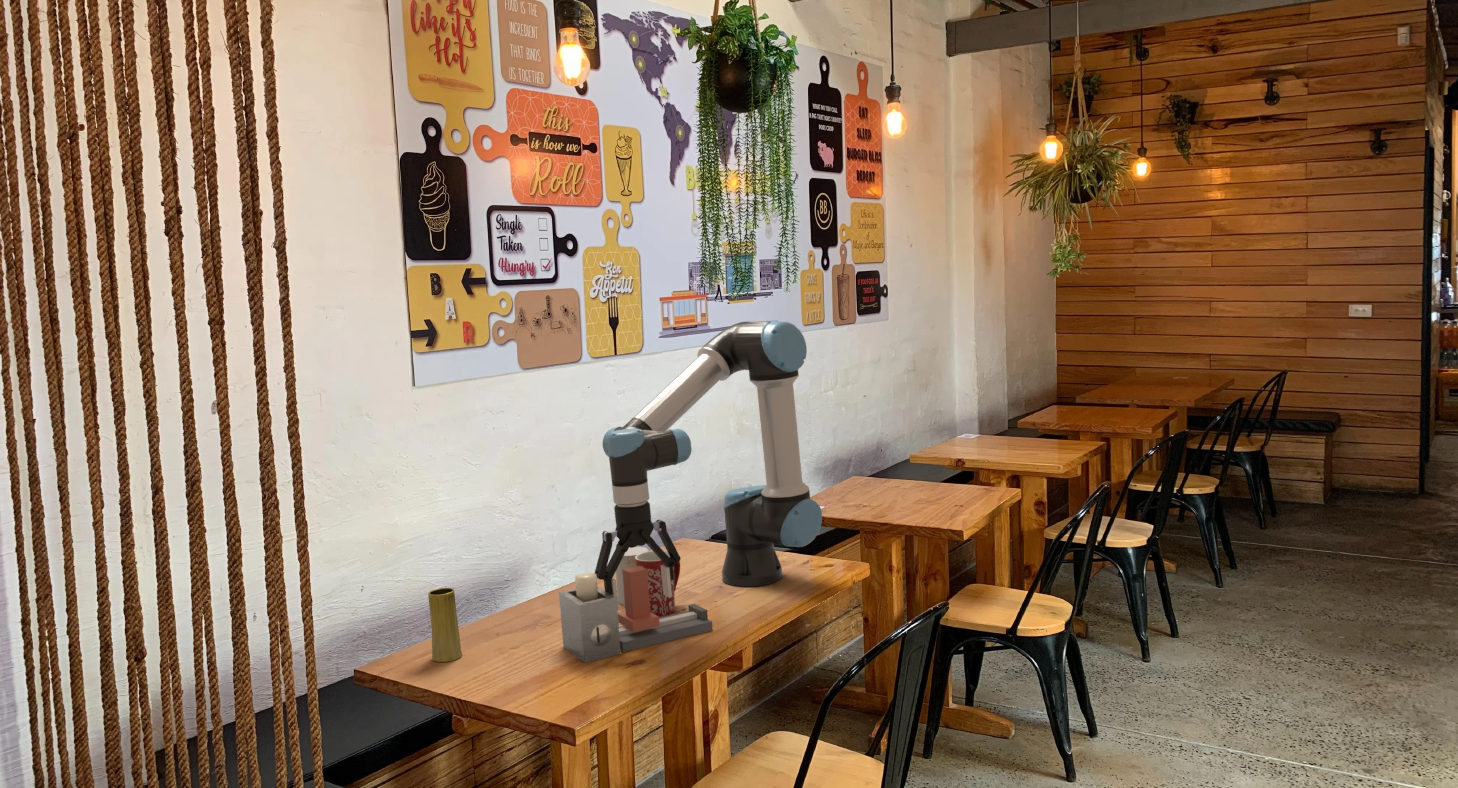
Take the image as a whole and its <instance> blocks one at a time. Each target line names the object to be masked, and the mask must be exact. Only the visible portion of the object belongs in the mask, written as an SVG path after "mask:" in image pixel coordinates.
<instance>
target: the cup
mask: <svg viewBox="0 0 1458 788" xmlns="http://www.w3.org/2000/svg"><path fill="white" fill-rule="evenodd" d="M648 551H649V548H647V547H645V546H644V547H643V546H636V547H634V548H630V547H629V549H628V551H627V552H625V554H624V556H623V558H622V560H621V562H620V564H619V566H618V568H617V570H616V572H615V577H616V578H615V580H616V586H617V596H618V605H623V606H625V598H624V585H623V572H622V569H625V568H630V567H635V566H637V563H636V559H635V557H636V556H637V555H638V554H641V553H644V552H648Z"/></svg>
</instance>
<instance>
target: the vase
mask: <svg viewBox="0 0 1458 788" xmlns="http://www.w3.org/2000/svg"><path fill="white" fill-rule="evenodd" d="M427 595H428V607H429V617H430V624H431V625H430V626H431V650H432V651H431V655H432V657H431V658H432V661H433V662H436V663H450V662H454V661H456V660H459V659H461V658H462V656H463V652H462V646H461V638H460V630H459V629H460V628H459V624H458V623H459V621H458V614H457V613H458V612H457V608H456V607H457V605H456V594H455V589H454V588H452V587H441V588H440V587H439V588H435V589H432V590H430V591H429V592H428V594H427Z"/></svg>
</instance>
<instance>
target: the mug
mask: <svg viewBox="0 0 1458 788" xmlns="http://www.w3.org/2000/svg"><path fill="white" fill-rule="evenodd" d="M662 550H663V549H662ZM663 551H664V552H665V554H666V555H667V556H668V557H670V555H669V554H668V552H667V550H663ZM635 559H636V563H637V566H641V567H643V568H645V569H647V573H648V586H649V600H650V612H651V613H653V614H655V615H657V616H658V617H664V616H668V615H673V614H674V613H675V611H676V609H675V607H676V606H675V604H676V603H675V601H676V599H675V590H676V589H677V586H678V581H679V579H680V573H681V560H680V561H679V562H676V563H675V566H674V567H673V574H674V579H673V580H671V591H672V597H667V596H665V595H663V585H662V574H661V565H665V564H664V563H663V562H662V561H661V559H660V558H659V557H658V556H657V555H656V554H655V553H654V552H653V551H652V550H648V552H644V553H641V554H638V555H637V556H636V557H635Z"/></svg>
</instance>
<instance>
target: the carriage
mask: <svg viewBox="0 0 1458 788" xmlns="http://www.w3.org/2000/svg"><path fill="white" fill-rule="evenodd" d="M622 572H623V585H624V598H625V605H624V608H625V611H623V612H619V613H618V624H620V625H621V626H625V627H626V628H628V629H630V630H631V631H633V632H636V631H640V630H644V629H649V628H653V627H657V626H660V625H659V617H658V616H657V615H655V614H653V613H651V612H650V600H649V586H648V573H647V569H645V568H643V567H641V566H635V567H630V568H625V569H622Z"/></svg>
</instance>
